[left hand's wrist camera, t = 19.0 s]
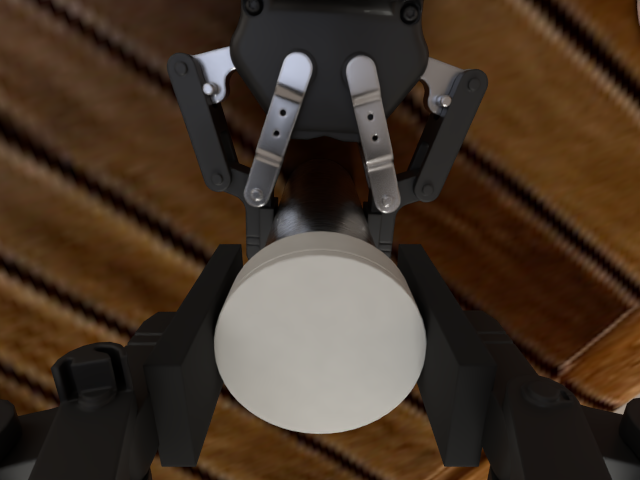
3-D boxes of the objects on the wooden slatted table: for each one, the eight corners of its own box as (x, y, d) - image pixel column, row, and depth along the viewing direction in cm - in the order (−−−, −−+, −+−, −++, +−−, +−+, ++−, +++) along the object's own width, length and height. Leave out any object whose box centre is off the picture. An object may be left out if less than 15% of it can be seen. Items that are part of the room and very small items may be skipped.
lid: (267, 199, 11) (258, 219, 9) (447, 275, 12) (467, 305, 10) (203, 356, 13) (186, 396, 11) (362, 412, 13) (368, 457, 12)
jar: (328, 238, 27) (338, 426, 12) (272, 201, 26) (208, 354, 11) (368, 185, 26) (436, 320, 11) (311, 144, 25) (298, 230, 10)
